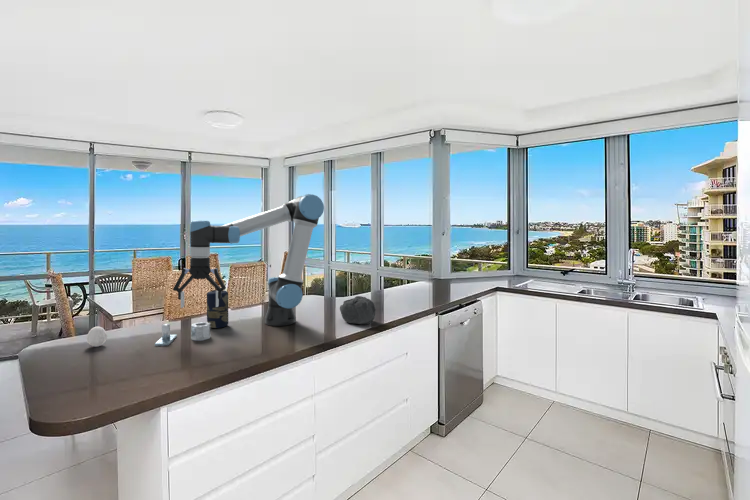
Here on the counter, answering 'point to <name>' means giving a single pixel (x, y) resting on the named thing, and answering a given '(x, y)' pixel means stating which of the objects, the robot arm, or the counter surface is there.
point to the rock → (358, 310)
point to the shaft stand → (165, 336)
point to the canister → (217, 309)
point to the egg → (96, 336)
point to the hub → (200, 331)
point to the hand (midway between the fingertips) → (200, 306)
